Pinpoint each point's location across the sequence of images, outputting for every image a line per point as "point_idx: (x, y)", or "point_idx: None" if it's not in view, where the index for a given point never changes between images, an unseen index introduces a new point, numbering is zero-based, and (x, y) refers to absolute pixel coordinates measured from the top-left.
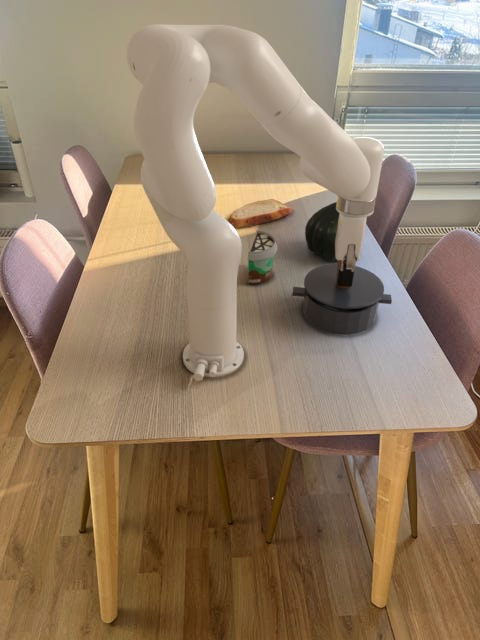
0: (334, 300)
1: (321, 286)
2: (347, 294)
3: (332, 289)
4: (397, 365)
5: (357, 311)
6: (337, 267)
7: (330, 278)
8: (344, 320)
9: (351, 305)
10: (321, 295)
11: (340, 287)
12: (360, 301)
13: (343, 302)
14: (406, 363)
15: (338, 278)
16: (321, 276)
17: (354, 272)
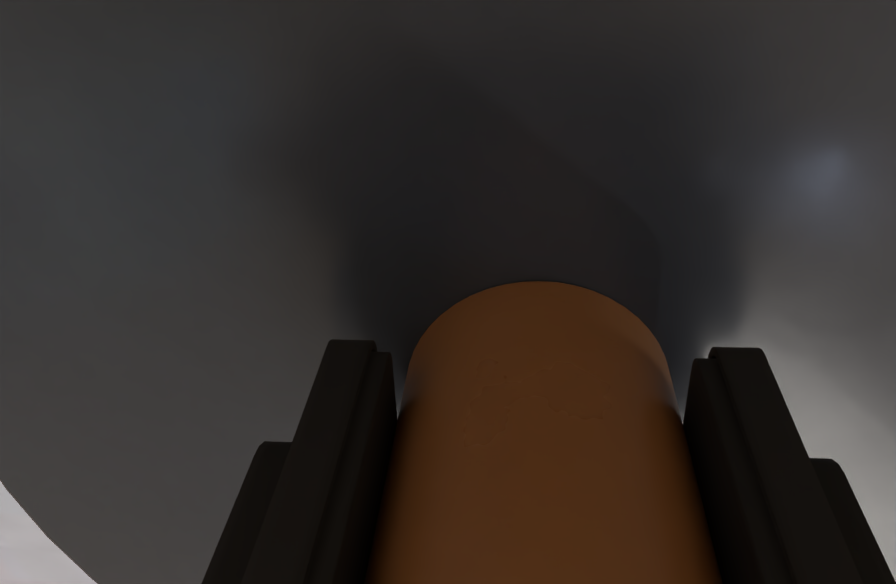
0: (16, 252)
1: (381, 30)
2: (254, 421)
3: (330, 227)
4: (3, 504)
5: None
6: (787, 435)
7: (701, 198)
8: None
9: (6, 450)
10: (70, 38)
11: (417, 345)
12: (144, 541)
13: (31, 365)
14: (48, 546)
15: (297, 440)
16: (778, 21)
17: (886, 536)
